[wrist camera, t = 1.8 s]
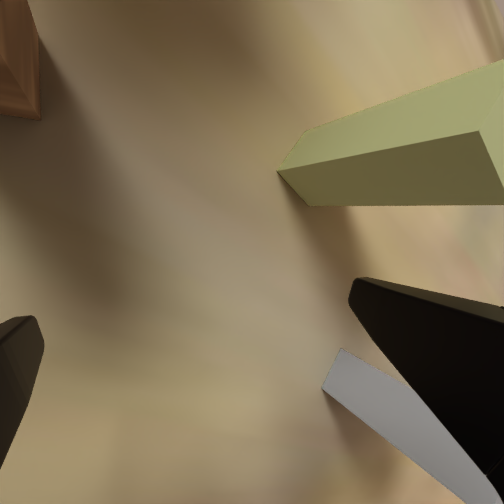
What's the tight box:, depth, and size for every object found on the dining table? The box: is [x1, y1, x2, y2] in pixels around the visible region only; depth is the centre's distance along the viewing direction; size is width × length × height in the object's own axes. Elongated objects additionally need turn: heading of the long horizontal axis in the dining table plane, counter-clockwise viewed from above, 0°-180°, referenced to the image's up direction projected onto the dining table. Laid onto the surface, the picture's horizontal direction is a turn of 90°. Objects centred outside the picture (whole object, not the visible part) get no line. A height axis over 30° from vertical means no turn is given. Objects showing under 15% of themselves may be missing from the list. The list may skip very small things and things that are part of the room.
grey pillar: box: [322, 349, 503, 504], centre depth 22 cm, size 4×4×13 cm
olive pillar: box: [277, 59, 504, 206], centre depth 17 cm, size 4×4×13 cm
